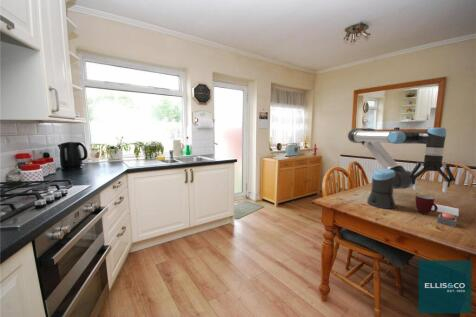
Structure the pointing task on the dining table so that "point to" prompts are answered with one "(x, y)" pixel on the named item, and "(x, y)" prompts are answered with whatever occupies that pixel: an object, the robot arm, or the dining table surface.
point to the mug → (425, 204)
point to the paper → (446, 210)
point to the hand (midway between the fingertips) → (429, 191)
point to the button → (447, 216)
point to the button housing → (447, 221)
